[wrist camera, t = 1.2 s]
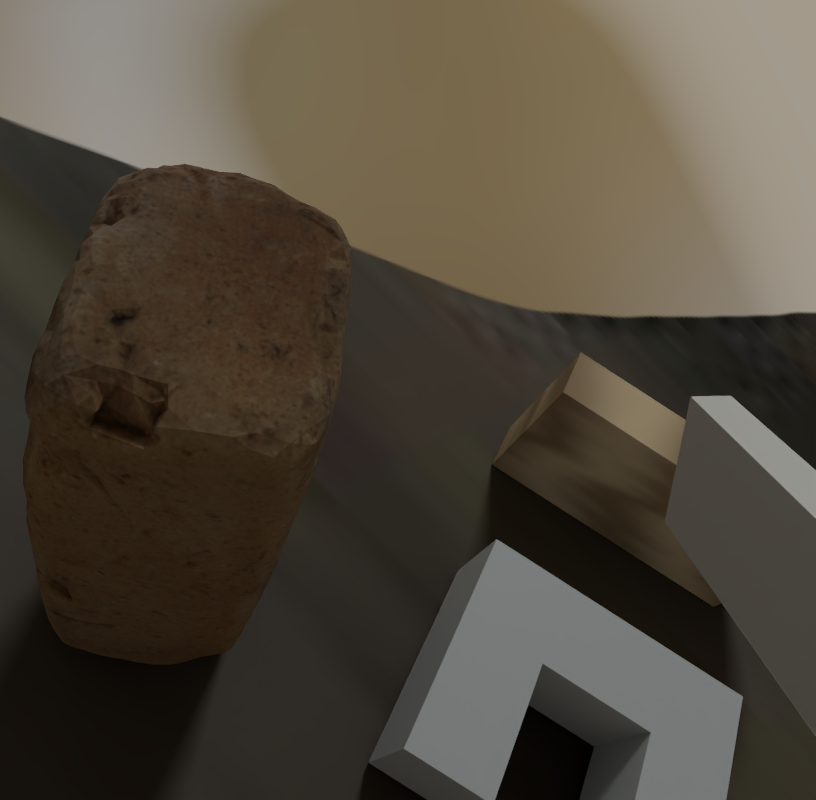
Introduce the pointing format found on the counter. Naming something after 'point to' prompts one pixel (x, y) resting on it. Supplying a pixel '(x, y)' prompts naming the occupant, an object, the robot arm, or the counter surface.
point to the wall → (605, 464)
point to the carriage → (553, 694)
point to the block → (180, 409)
